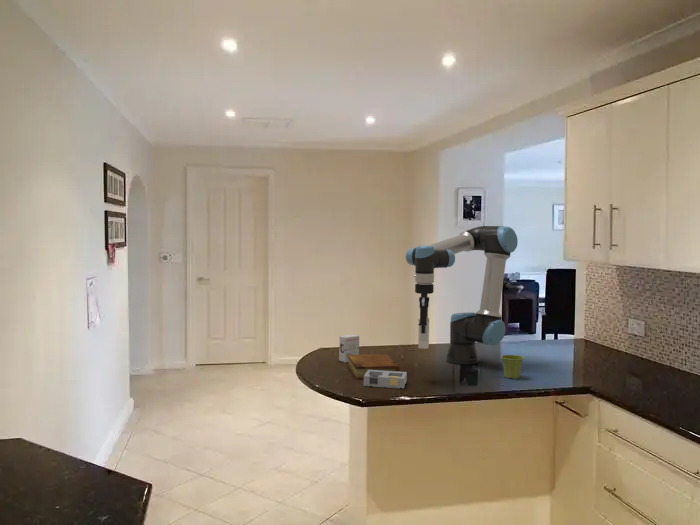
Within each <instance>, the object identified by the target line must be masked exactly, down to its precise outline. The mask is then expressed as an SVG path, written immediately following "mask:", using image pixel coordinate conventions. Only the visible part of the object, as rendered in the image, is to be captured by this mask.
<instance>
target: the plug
mask: <svg viewBox="0 0 700 525" xmlns="http://www.w3.org/2000/svg"><path fill="white" fill-rule="evenodd" d="M426 323H427V341H420V325H418V335H417V336H418V339H417V340H418V341H417V342H418V344H417V345H418V347H417V348H418V349H425V350H427V349H429V346H430V345H429V344H430V318H429V317H428V318H427V321H426ZM418 324H420V317H419V318H418Z"/></svg>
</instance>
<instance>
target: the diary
mask: <svg viewBox="0 0 700 525" xmlns="http://www.w3.org/2000/svg"><path fill="white" fill-rule="evenodd" d="M348 358H349V362H348V364H346V367H347V368H348V367H349V368H348V370H349V371H350V370H351V371H350V372H351V374H352V373H353V374H352V375H353V377H354V378H355V380H364V375H365V374H366V372H367V371H368V370H383V371H399V372H401V367H400V366H399V365H398V364H397V362H395V361H394V360H393V359H392V358H391V357H390V356H389V355H388V354H387V353H377V354H375V353H374V354H369V353H368V354H359V355H348Z"/></svg>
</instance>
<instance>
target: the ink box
mask: <svg viewBox="0 0 700 525" xmlns="http://www.w3.org/2000/svg"><path fill="white" fill-rule="evenodd" d="M338 347H339V351H338V353H339V354H338V361H340V362H342V363H344V364H346V362H347V363H349V358H348V355H360V335H358V334H357V335H356V334H346V335H340V336H339V346H338Z"/></svg>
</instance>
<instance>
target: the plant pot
mask: <svg viewBox="0 0 700 525" xmlns="http://www.w3.org/2000/svg"><path fill="white" fill-rule="evenodd" d="M500 358H501V361H502V367H503V375H504V378H506V379H509V378H511V379H515V380H516V379H519V378H520V374H521V368H522V363H523V360H524V359H525V358H524V357H523V356H521V355H514V354H502V355H501V356H500Z"/></svg>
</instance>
